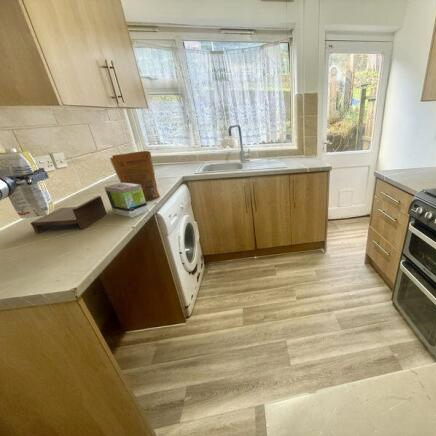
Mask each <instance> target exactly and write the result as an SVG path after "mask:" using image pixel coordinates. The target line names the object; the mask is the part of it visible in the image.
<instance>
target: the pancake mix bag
mask: <svg viewBox="0 0 436 436" xmlns="http://www.w3.org/2000/svg"><path fill="white" fill-rule="evenodd" d="M109 159H110V163H111V165H112V167H113V169H114V172H115V174H116V175H117V178H118V180H119V183H123V182H125V183H133V184H140V185H141V187H142V191H143V194H144V197H145V200H146V202H147V201H152V200H157V199H159V198H161V195H160V193H159V190H158V186H157V185H158V184H157V181H156V176H155V168H154V164H153V158H152V152H151V151H149V150H143V151H135V152H133V151H132V152H129V153H121V154H114V155H112V157H109Z"/></svg>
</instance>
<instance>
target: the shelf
mask: <svg viewBox="0 0 436 436" xmlns="http://www.w3.org/2000/svg"><path fill="white" fill-rule="evenodd" d="M106 215H108V213H107V210H106V207H105V204H104V202H103V198H102V196H101V195H97V196H95V197H93V198H91V199H90V200H88V201H85V202H84V203H81V204H80V205H78V206H68V207H60V208H57V209H56V210H53V211H52V212H51V213H50V214H49V215H45V216H40V217H39V218H37V219H35V220H33V221H31V222H30V226H31V227H32V229H33V231H34V233H35V234H39V233H41V232H44V231H45V230H47V229H49V228H51V227H53V226H54V225H65V224H78V227H79V229H80V231H81V230H82V231H85V230H86V229H88V228H89V227H90V226H92V225H93V224H94V223H96V222H97V221H99V220H101V219H102V218H103V217H105V216H106Z"/></svg>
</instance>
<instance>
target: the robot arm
mask: <svg viewBox="0 0 436 436" xmlns="http://www.w3.org/2000/svg"><path fill="white" fill-rule="evenodd" d="M49 178H50V177H49V175H48V172H47V171H46V170H45V168H44V167H39V168H38V170H36V171H34V172H33V173H29V174H25V175H13V176H4V175H2V174H0V202H1V201H2V200H4V199H7V198H9V197H8V196H10V195H12V194H13V193H14V191H15V189H16V187H18V186H22V185H24V184H25V183H26V184H28V185H32V184H34V183H36V182H39V181H45V180H48V179H49Z"/></svg>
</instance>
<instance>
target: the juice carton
mask: <svg viewBox="0 0 436 436" xmlns="http://www.w3.org/2000/svg"><path fill="white" fill-rule="evenodd" d="M4 151H5V152H0V174H2V175H4V176H13V175H25V174H29V173H33V172H34V171H36V170H38V169H39V168H38V165H37V163H36V161H35V159H34V158H33V156H32V155H31V153H30V152H29V151H28V150H24V151H17V149H16V148H4ZM7 198H8V199H9V201H10V203H11V205H12V207H13V208H14V210H15V212H16V213H17V215H18V216H19V217H20V219H30V218H36V217H37V218H38V217H43V216H45V215H49V214H50V213H52V212H54V211H55V205H54V202H53V201H54V200H53V199H52V196H51V195H50V192H49V190H48V188H47V186H46V184H45V180H43V181H39V182H36V183H34V184H32V185H28V184H26V183H25V184H24V185H22V186H18V187H16V189H15V191H14V193H13V194H12V195H10V196H8V197H7Z"/></svg>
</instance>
